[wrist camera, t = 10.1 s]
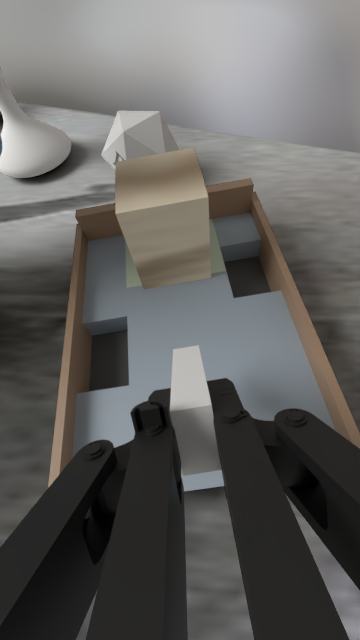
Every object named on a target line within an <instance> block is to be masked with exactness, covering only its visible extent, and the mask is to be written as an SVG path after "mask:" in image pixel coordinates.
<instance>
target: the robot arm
mask: <svg viewBox="0 0 360 640" xmlns="http://www.w3.org/2000/svg"><path fill="white" fill-rule="evenodd" d="M1 153H2V138H1V135H0V156H1ZM130 414H131V418H132V422H133V426H134V430H135V436H134V439H133V440H131V441H130V442H128V443H125V444H123V445H120V446H118V447H115V448H114V446H113V443H112V442H111V441H109V440H104V439H103V440H96V441H94V442H91V443H89V444H87V445H85V446H84V447H82V448H81V449H80V450H79V451H78V452H77V453H76V454H75V456H74V457H73V458H72V459H71V461H70V462H69V463H68V464H67V466H66V467H65V468H64V469H63V471H62V472H61V473H60V474H59V476H58V477H57V478H56V479H55V480H54V482H53V483H52V484H51V485H50V487H49V488H48V489H47V490H46V492H45V493H44V494H43V495H42V497H41V498H40V499H39V500H38V502H37V503H36V504H35V505H34V507H33V508H32V509H31V510H30V511H29V513H28V514H27V515H26V516H25V518H24V519H23V520H22V521H21V523H20V524H19V525H18V526H17V528H16V529H15V530H14V531H13V533H12V534H11V535H10V536H9V538H8V539H7V540H6V541H5V542H4V544H3V545H2V546H1V547H0V640H76V637H77V635H78V633H79V631H80V628H81V626H82V624H83V621H84V619H85V617H86V614H87V612H88V610H89V607H90V605H91V603H92V600H93V598H94V596H95V593H96V591H97V595H96V599H95V603H94V607H93V611H92V616H91V620H90V624H89V628H88V632H87V636H86V640H188V638H187V598H186V559H185V519H184V486H183V481H182V477H181V469H182V474H183V476H185V475H192V474H198V473H205V472H211V471H218V470H222V475H223V480H224V486H225V492H226V498H227V501H228V506H229V511H230V517H231V522H232V527H233V532H234V537H235V542H236V547H237V553H238V558H239V563H240V568H241V573H242V578H243V584H244V589H245V594H246V599H247V604H248V609H249V614H250V620H251V625H252V630H253V635H254V640H349V638H348V636H347V633H346V631H345V629H344V626H343V624H342V622H341V620H340V617H339V615H338V613H337V611H336V608H335V606H334V604H333V601H332V599H331V597H330V595H329V592H328V590H327V588H326V586H325V583H324V581H323V579H322V576H321V574H320V572H319V570H318V567H317V565H316V563H315V561H314V558H313V556H312V554H311V551H310V549H309V547H308V545H307V542H306V540H305V538H304V536H303V533H302V531H301V529H300V526H299V524H298V522H297V520H296V517H295V515H294V513H293V511H292V508H291V506H290V504H289V501H288V499H287V497H286V495H287V496H288V497H289V499H290V500H291V501H292V503H293V504H294V505H295V506H296V508H297V509H298V510H299V512H300V513H301V514H302V516H303V517H304V518H305V520H306V521H307V522H308V523H309V525H310V526H311V527H312V529H313V530H314V531H315V533H316V534H317V535H318V536H319V538H320V539H321V540H322V542H323V543H324V544H325V546H326V547H327V548H328V549H329V551H330V552H331V553H332V555H333V556H334V557H335V559H336V560H337V561H338V563H339V564H340V565H341V566H342V568H343V569H344V570H345V572H346V573H347V574H348V576H349V577H350V578H351V579H352V581H353V582H354V583H355V585H356V586H357V587H358V589H359V590H360V448H358V447H357V446H355V445H354V444H353V443H351V442H350V441H349V440H347V439H346V438H345V437H343V436H342V435H340V434H339V433H338V432H336V431H335V430H334V429H332V428H331V427H330V426H328V425H327V424H325V423H324V422H323V421H321V420H320V419H319V418H317V417H316V416H315V415H313V414H312V413H310V412H308V411H306V410H302V409H296V408H290V409H284V410H282V411H280V412H278V413H277V414H276V415H275V416H274V421H265V420H258V419H255V418H253V417H251V415H250V413H249V412H248V411H247V410H245V409H244V408H243V405H242V403H241V400H240V398H239V396H238V393H237V391H236V389H235V386H234V384H233V382H232V381H230V380H229V379H227V378H223V379H216V380H210V381H206V377H205V372H204V368H203V363H202V359H201V354H200V349H199V345H196V346H191V347H185V348H179V349H173V361H172V379H171V388H167V389H161V390H155V391H153V392H152V394H151V395H150V396H149V398H148V401H145V402H142V403H140V404H138V405H137V406H135V407H134V408H133V409H132V411H131V412H130ZM285 493H286V495H285ZM97 589H98V590H97Z"/></svg>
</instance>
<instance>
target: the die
mask: <svg viewBox="0 0 360 640" xmlns="http://www.w3.org/2000/svg"><path fill="white" fill-rule="evenodd" d="M177 150H179V148H178V146H177V144H176V142H175V140H174V138H173V136H172V134H171V132H170V130H169V129H168V127H167V125H166V123H165V121H164V119H163V117H162V115H161V113H160V112H159V111H118V113H117V115H116V118H115V120H114V123H113V126H112V128H111V131H110V133H109V136H108V139H107V141H106V144H105V146H104V149H103V151H102V154H101V156H102V157H103V158H104V159H105V161H106V162H107V163H108V164H109V166H110V167H111V168H112V170H113V171H114V172H115V173H116V162H119V161H124V160H129V159H135V158H140V157H145V156H151V155H156V154H161V153H167V152H172V151H177Z"/></svg>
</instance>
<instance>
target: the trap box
mask: <svg viewBox="0 0 360 640" xmlns="http://www.w3.org/2000/svg"><path fill="white" fill-rule="evenodd" d="M253 185H254V184H253V182H252V180H251V178H249V179H244V180H238V181H233V182H227V183H222V184H216V185H211V186H206V190H207V194H208V199H209V229H210V260H211V278H208V279H202V280H196V281H190V282H184V283H178V284H172V285H167V286H161V287H155V288H149V289H144V288H143V286H142V283H141V280H140V278H139V275H138V272H137V270H136V267H135V265H134V262H133V259H132V257H131V254H130V251H129V249H128V246H127V243H126V241H125V238H124V235H123V233H122V230H121V227H120V225H119V222H118V219H117V217H116V214H115V203H113V204H107V205H102V206H96V207H91V208H85V209H80V210H76V216H75V217H76V219H77V221H78V223H79V224H77V227H76V236H75V245H74V255H73V264H72V273H71V282H70V291H69V301H68V310H67V319H66V328H65V337H64V347H63V356H62V365H61V374H60V383H59V393H58V402H57V411H56V420H55V429H54V439H53V448H52V457H51V466H50V475H49V485H48V488H49V487H50V485H51V484H52V483H53V482H54V480H55V479H56V478H57V477H58V476H59V474H60V473H61V472H62V471H63V469H64V468H65V467H66V466H67V464H68V463H69V462H70V461H71V459H72V458H73V457H74V456H75V454H76V453H77V452H78V451H79V450H80V449H81V448H82V447H84V446H85V445H87V444H89V443H91V442H94V441H96V440H103V439H104V440H109V441H111V442H112V443H113V446H114V448H115V447H118V446H120V445H123V444H125V443H128V442H130V441H131V440H133V439H134V436H135V430H134V426H133V422H132V418H131V414H130V412H131V411H132V409H133V408H134V407H135V406H137V405H138V404H140V403H142V402H145V401H148V398H149V396H150V395H151V394H152V392H153V391H155V390H161V389H167V388H171V379H172V361H173V349H179V348H185V347H191V346H196V345H199V349H200V354H201V359H202V363H203V368H204V372H205V377H206V381H210V380H216V379H223V378H227V379H229V380H230V381H232V382H233V384H234V386H235V389H236V391H237V393H238V396H239V398H240V400H241V403H242V405H243V408H244V409H245V410H247V411H248V412H249V413H250V415H251V417H253V418H255V419H258V420H265V421H274V416H275V415H276V414H277V413H278V412H280V411H282V410H284V409H290V408H296V409H302V410H306V411H308V412H310V413H312V414H313V415H315V416H316V417H317V418H319V419H320V420H321V421H323V422H324V423H325V424H327V425H328V426H330V427H331V428H332V429H334V430H335V431H336V432H338V433H339V434H340V435H342V436H343V437H345V438H346V439H347V440H349V441H350V442H351V443H353V444H354V445H355V446H357V447H358V448H360V433H359V430H358V428H357V426H356V424H355V421H354V419H353V417H352V414H351V412H350V410H349V407H348V405H347V403H346V400H345V398H344V396H343V393H342V391H341V389H340V386H339V384H338V382H337V380H336V377H335V375H334V373H333V370H332V368H331V366H330V363H329V361H328V359H327V356H326V354H325V352H324V349H323V347H322V345H321V342H320V340H319V338H318V336H317V333H316V331H315V329H314V326H313V324H312V322H311V319H310V317H309V315H308V312H307V310H306V308H305V305H304V303H303V301H302V298H301V296H300V294H299V291H298V289H297V287H296V285H295V282H294V280H293V278H292V275H291V273H290V271H289V268H288V266H287V264H286V261H285V259H284V257H283V254H282V252H281V250H280V247H279V245H278V243H277V241H276V238H275V236H274V234H273V231H272V229H271V227H270V224H269V222H268V220H267V217H266V215H265V213H264V210H263V208H262V206H261V203H260V201H259V199H258V197H257V194H256V192H253ZM181 477H182V481H183V486H184V492H185V491H192V490H199V489H206V488H213V487H220V486H224V480H223V475H222V470H218V471H211V472H205V473H198V474H192V475H185V476H183V474H182V469H181Z"/></svg>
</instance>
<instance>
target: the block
mask: <svg viewBox="0 0 360 640" xmlns="http://www.w3.org/2000/svg"><path fill="white" fill-rule="evenodd" d="M115 214H116V217H117V219H118V222H119V225H120V227H121V230H122V233H123V235H124V238H125V241H126V243H127V246H128V249H129V251H130V254H131V257H132V259H133V262H134V265H135V267H136V270H137V272H138V275H139V278H140V280H141V283H142V286H143V288H144V289H149V288H155V287H161V286H167V285H172V284H178V283H184V282H190V281H196V280H202V279H208V278H211V260H210V229H209V199H208V194H207V190H206V187H205V183H204V179H203V176H202V172H201V169H200V165H199V161H198V158H197V154H196V151H195V147H193V148H188V149H183V150H177V151H172V152H167V153H161V154H156V155H151V156H145V157H140V158H135V159H129V160H124V161H119V162H116V183H115Z"/></svg>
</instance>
